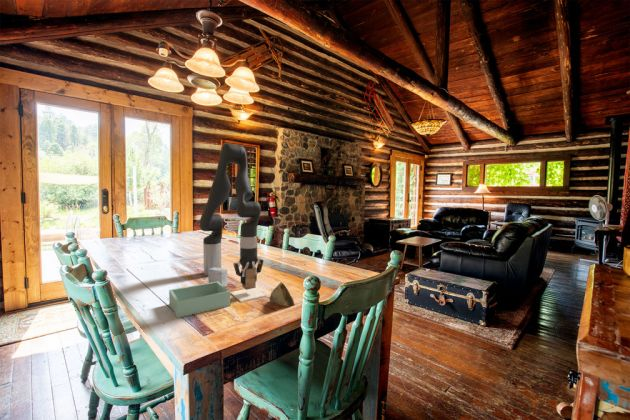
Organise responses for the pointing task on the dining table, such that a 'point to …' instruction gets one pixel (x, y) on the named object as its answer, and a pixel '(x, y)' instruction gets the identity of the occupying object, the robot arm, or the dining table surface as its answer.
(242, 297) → the plate
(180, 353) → the dining table surface
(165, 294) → the dining table surface
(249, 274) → the oak block
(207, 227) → the robot arm
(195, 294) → the box frame
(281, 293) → the rock
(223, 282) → the medicine box
